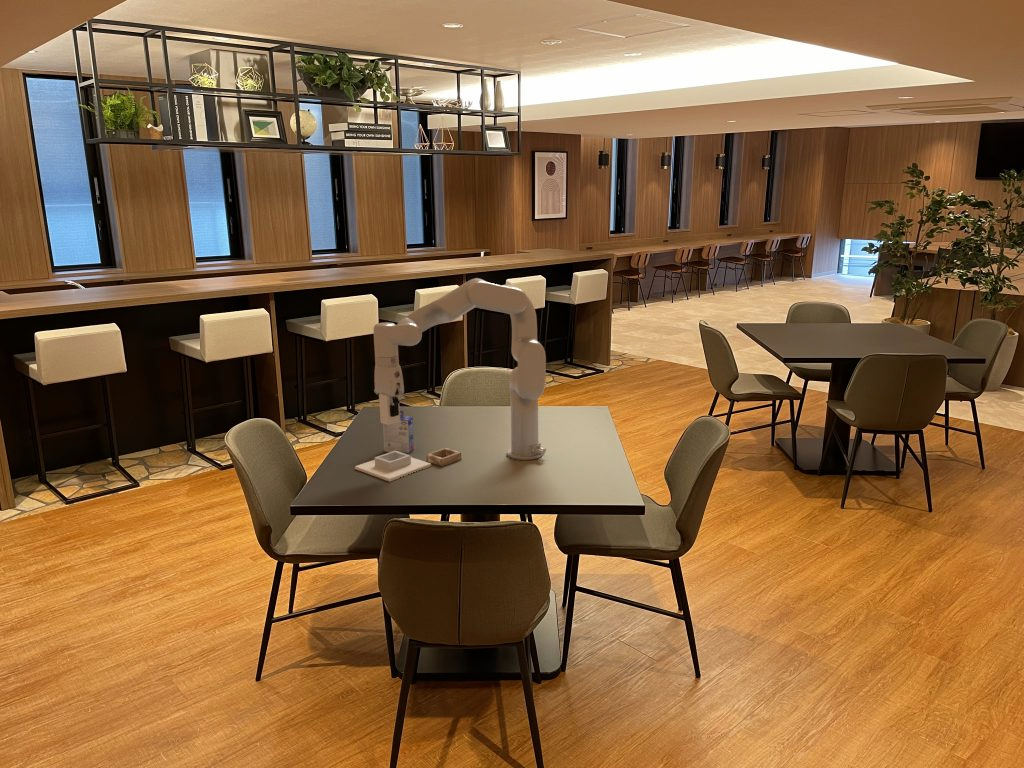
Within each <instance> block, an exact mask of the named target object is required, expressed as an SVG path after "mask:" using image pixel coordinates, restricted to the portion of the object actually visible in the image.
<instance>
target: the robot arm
mask: <svg viewBox="0 0 1024 768" xmlns="http://www.w3.org/2000/svg"><path fill="white" fill-rule="evenodd" d="M474 308H480V309H485V310H488V311H493V312H499V313H504V314H508V315H509V317H510V320H511V350H510V351H511V355H512V357H513V359H514V360H515V361H516V362H517V366H516V367H514V368H513V369H512V371H511V372H510V374H509V377H508V389H509V399H510V442H511V443H510V446H511V447H510V448H508V449H507V450H506V456H508V457H509V458H510V459H513V460H519V461H520V460H521V461H530V460H536V459H539V458H541V457H544V456H545V453H546V451H547V448H544V447H542V445H541V443H542V442H539V401H538V400H539V398H541V396H542V395H543V393H544V392H545V389H546V375H547V374H546V373H547V372H546V371H547V366H546V365H547V356H546V351H545V347H544V346H543V344H542V343H540V341H538V322H537V321H538V319H537V313H536V309H535V306H534V304H533V302H532V300H531V299H530V297H529V296H528V295H527V293H526V292H525V291H524V290H522V289H521V288H520V287H517V286H515V285H513V284H511V283H510V284H509V283H508V284H507V283H506V284H502V285H500V284H497V283H496V284H495V283H491V282H488V281H486V280H484V279H482V278H478V277H475V278H472V279H469V280H468V281H466V282H465V283H462V284H461V285H459V286H457V287H456V288H454V289H453V290H451V291H450V292H449V293H446V294H444V295H443V296H441V297H440V298H437V299H436V300H433V301H431V302H430V303H428V304H426V305H424V306H422V307H420V308H418V309H416V310H414V311H413V312H411V313H409V314H407V315H406V316H405V317H403V318H402V319H401V320H399V322H397V324H395V323H394V322H387V321H385V322H379V323H376V324H374V326H373V328H372V329H373V345H374V361H375V362H374V363H375V364H374V365H375V366H374V374H373V375H374V379H373V380H374V381H373V382H374V389H373V391H374V393H375V394H376V396H377V398H378V399H379V394H380V393H381V394H385V395H388V396H390V402H391V405H390V416H391V417H394V416H397V415H399V409H400V406H399V407H398V404H399V405H400V403H401V401H402V400H403V399H405V395H404V393H405V386H404V378H403V377H404V376H403V371H402V368H401V365H400V363H399V362H400V360H399V346H406V347H412V346H416V345H418V344H419V343H420V342H421V340H422V337H423V333H424V332H425V331H427V330H428V329H430V328H432V327H434V326H437V325H440V324H446V323H448V324H449V323H451V322H454V321H456V320H457V319H459V318H460V317H462V316H463V315H465V314H466V313H468V312H471V310H473V309H474ZM393 397H395V399H394V398H393Z"/></svg>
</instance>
